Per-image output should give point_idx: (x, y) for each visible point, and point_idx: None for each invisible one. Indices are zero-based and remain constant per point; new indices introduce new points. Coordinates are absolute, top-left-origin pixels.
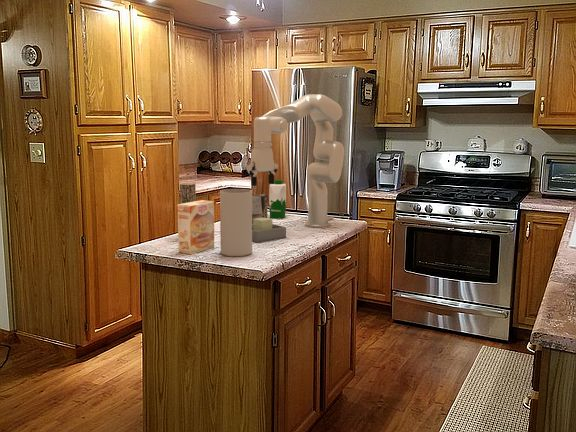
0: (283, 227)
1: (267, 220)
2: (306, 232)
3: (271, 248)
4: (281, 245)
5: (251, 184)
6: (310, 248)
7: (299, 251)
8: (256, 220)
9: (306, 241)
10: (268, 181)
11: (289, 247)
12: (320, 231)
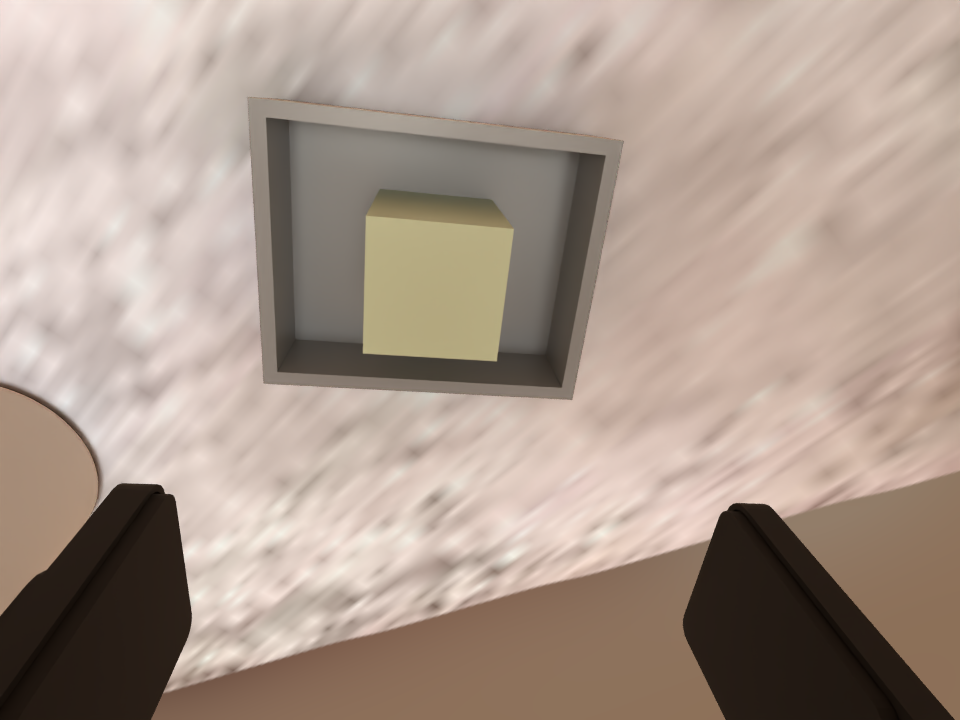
0: (544, 397)
1: (436, 356)
2: (796, 327)
3: (266, 501)
4: (368, 484)
5: (114, 499)
6: (439, 610)
7: (346, 620)
8: (365, 268)
9: (559, 501)
10: (749, 542)
11: (369, 541)
12: (875, 368)
